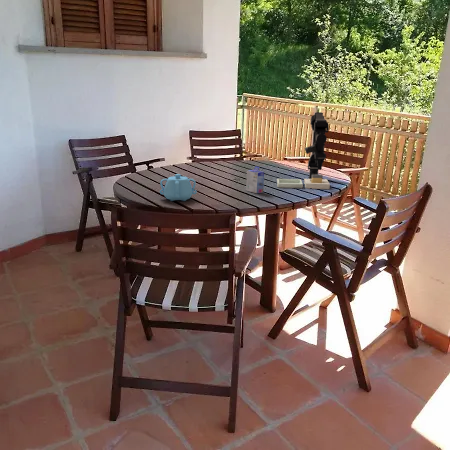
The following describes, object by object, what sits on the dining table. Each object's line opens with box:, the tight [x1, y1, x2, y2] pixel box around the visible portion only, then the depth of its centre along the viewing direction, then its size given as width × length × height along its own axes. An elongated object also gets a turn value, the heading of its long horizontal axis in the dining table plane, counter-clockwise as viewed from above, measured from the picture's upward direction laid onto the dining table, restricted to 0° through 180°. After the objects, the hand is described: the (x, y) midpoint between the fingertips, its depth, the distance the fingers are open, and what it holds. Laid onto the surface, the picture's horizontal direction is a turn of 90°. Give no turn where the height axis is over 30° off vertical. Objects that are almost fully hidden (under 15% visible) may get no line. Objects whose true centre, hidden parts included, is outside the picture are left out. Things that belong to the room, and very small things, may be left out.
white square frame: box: [303, 178, 331, 190], centre depth 276 cm, size 14×14×3 cm
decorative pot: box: [159, 173, 198, 202], centre depth 242 cm, size 16×16×14 cm
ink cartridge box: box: [245, 165, 265, 194], centre depth 259 cm, size 10×6×14 cm, turn 38°
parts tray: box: [276, 178, 304, 189], centre depth 277 cm, size 14×15×2 cm
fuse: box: [311, 173, 324, 183], centre depth 275 cm, size 4×6×7 cm
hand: (317, 167), depth 273 cm, fingers open, 9 cm apart
